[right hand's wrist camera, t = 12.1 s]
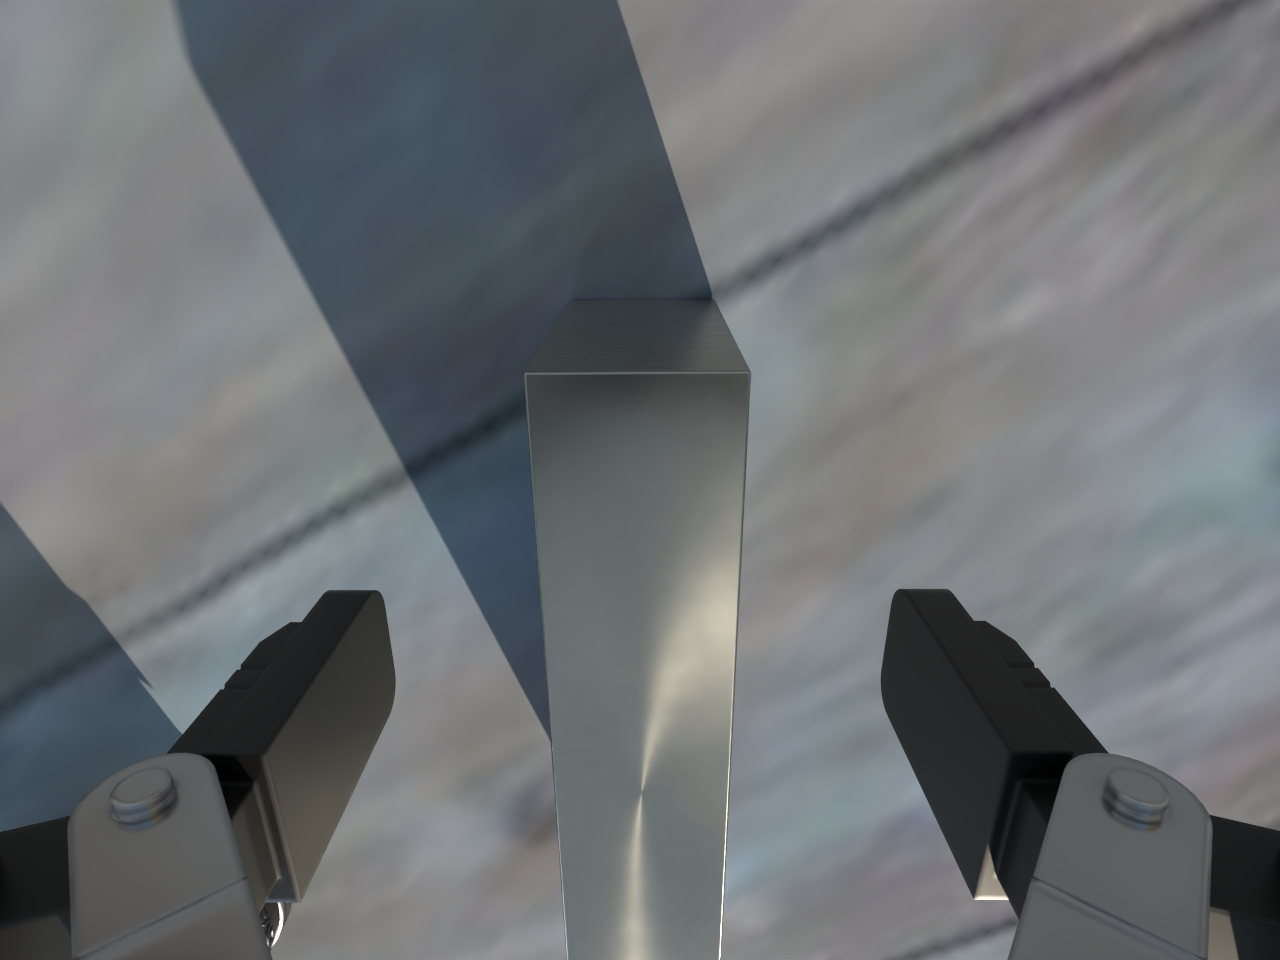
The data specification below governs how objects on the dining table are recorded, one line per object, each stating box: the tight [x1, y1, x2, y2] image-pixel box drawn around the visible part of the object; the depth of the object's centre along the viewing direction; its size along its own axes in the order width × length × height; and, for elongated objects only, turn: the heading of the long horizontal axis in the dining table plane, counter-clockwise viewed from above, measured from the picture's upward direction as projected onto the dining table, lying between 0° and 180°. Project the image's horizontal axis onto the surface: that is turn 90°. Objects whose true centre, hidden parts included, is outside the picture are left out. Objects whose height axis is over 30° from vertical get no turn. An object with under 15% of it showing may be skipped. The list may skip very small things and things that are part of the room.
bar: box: [524, 299, 751, 960], centre depth 23 cm, size 23×5×9 cm, turn 1°
